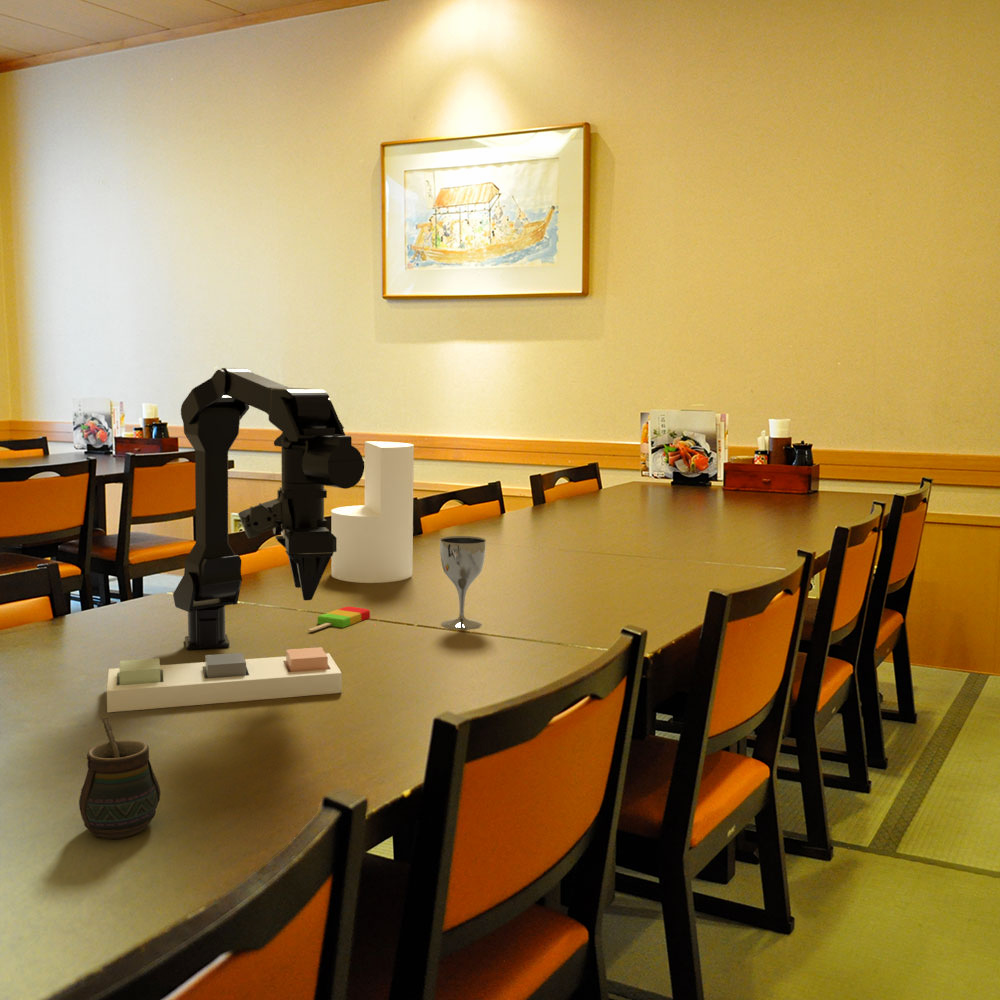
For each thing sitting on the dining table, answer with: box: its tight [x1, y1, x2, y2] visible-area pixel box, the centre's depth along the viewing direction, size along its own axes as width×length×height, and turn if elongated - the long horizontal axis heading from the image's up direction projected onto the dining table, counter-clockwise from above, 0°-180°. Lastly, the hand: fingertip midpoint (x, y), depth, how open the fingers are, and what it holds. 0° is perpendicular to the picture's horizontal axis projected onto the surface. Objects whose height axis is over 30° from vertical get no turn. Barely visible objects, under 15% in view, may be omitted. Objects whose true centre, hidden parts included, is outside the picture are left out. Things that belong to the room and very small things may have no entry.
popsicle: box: [308, 606, 371, 633], centre depth 178 cm, size 6×15×2 cm, turn 154°
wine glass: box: [439, 535, 487, 631], centre depth 178 cm, size 8×8×15 cm
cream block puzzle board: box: [106, 652, 343, 713], centre depth 140 cm, size 10×30×3 cm, turn 109°
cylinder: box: [330, 440, 415, 584], centre depth 219 cm, size 17×17×28 cm
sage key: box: [119, 657, 161, 685], centre depth 136 cm, size 5×5×2 cm
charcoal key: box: [204, 652, 246, 679], centre depth 140 cm, size 5×5×2 cm
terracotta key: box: [285, 646, 328, 672], centre depth 143 cm, size 5×5×2 cm
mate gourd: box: [78, 717, 161, 840], centre depth 98 cm, size 7×8×10 cm
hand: (303, 593), depth 142 cm, fingers open, 8 cm apart
